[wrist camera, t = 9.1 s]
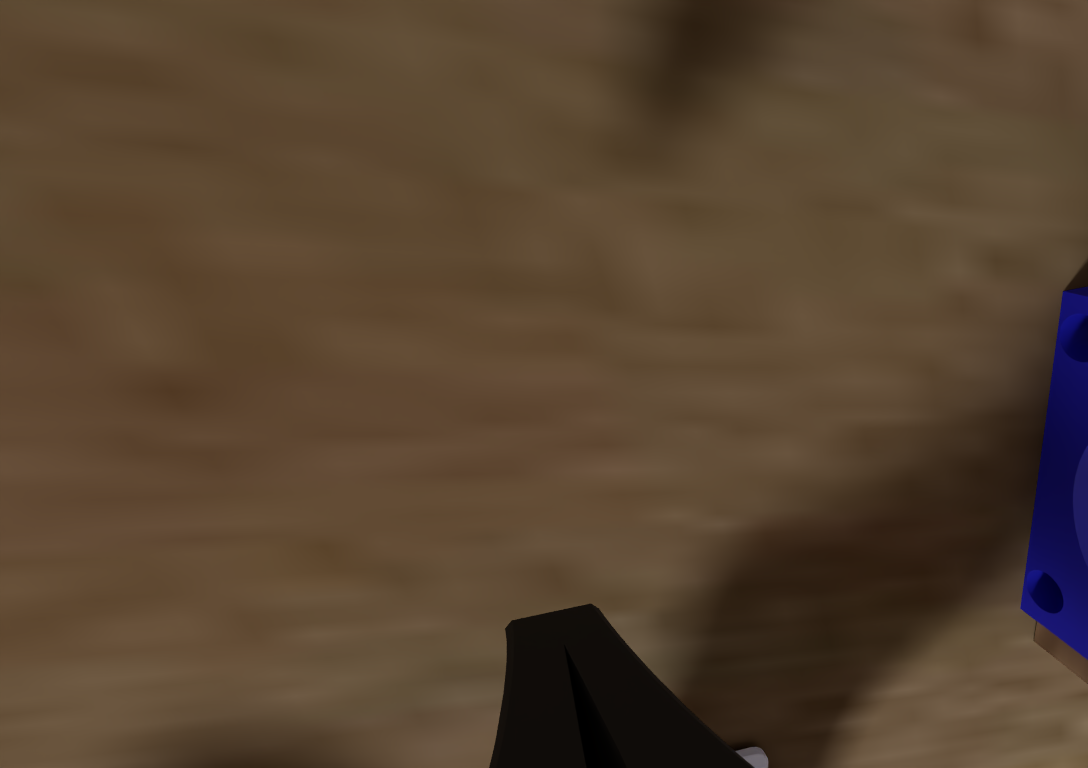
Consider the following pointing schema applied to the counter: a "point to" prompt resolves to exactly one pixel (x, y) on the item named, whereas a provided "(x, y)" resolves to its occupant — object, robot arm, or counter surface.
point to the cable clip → (1063, 489)
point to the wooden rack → (1062, 652)
